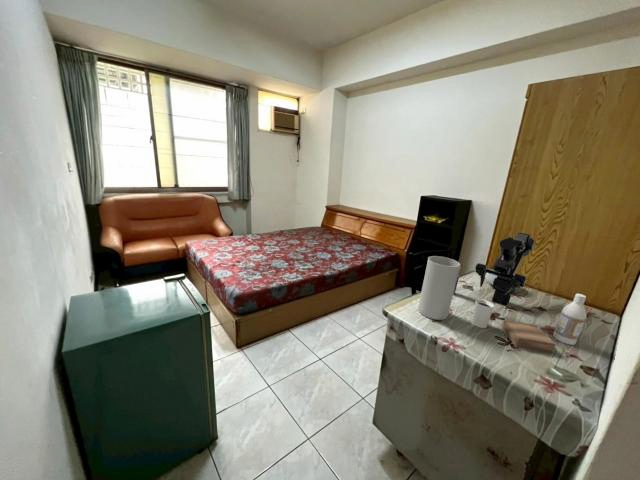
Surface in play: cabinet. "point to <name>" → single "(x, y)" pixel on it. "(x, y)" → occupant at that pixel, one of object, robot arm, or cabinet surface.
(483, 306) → the white cup
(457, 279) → the container
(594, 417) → the cabinet surface
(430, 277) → the cylinder vase
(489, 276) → the cereal bowl
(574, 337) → the bath foam
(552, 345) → the walnut block
